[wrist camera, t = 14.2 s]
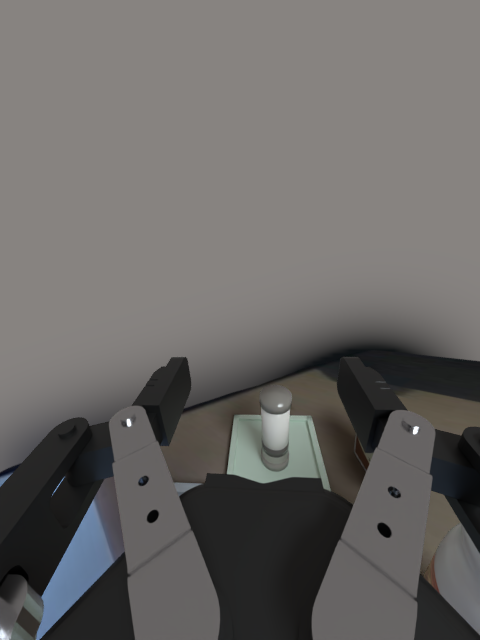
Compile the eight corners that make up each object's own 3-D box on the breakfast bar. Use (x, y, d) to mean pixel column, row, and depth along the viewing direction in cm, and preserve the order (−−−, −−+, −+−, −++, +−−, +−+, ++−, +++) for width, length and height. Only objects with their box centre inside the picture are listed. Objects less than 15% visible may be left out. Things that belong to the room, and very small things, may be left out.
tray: (222, 516, 34) (222, 511, 33) (234, 418, 50) (234, 414, 50) (337, 523, 32) (338, 518, 32) (310, 420, 49) (311, 416, 48)
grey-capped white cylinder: (261, 471, 39) (259, 406, 33) (261, 445, 43) (259, 384, 38) (290, 472, 39) (293, 407, 33) (287, 446, 43) (289, 384, 37)
